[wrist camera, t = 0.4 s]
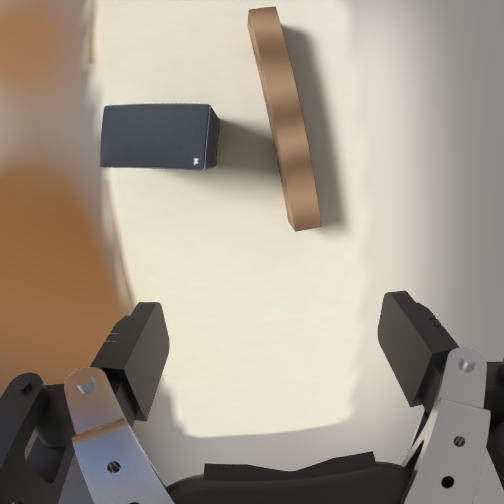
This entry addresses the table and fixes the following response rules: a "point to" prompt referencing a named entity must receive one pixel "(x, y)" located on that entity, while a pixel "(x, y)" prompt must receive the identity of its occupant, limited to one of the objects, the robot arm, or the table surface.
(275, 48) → the walnut board
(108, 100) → the table surface
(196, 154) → the small box
